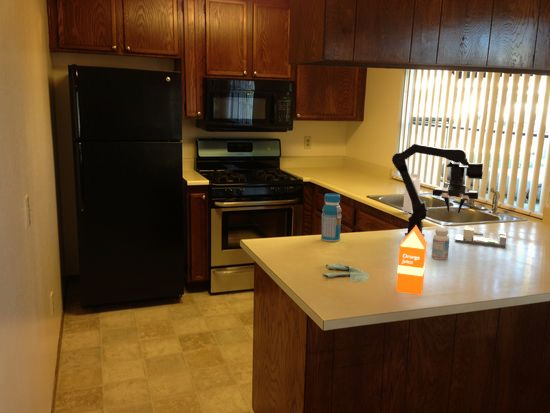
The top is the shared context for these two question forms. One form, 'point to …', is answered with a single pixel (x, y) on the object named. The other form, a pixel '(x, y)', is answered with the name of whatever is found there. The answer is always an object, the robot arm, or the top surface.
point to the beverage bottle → (331, 218)
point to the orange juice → (411, 263)
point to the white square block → (470, 233)
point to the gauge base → (484, 240)
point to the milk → (407, 201)
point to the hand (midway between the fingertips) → (453, 212)
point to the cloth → (354, 273)
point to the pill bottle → (440, 244)
